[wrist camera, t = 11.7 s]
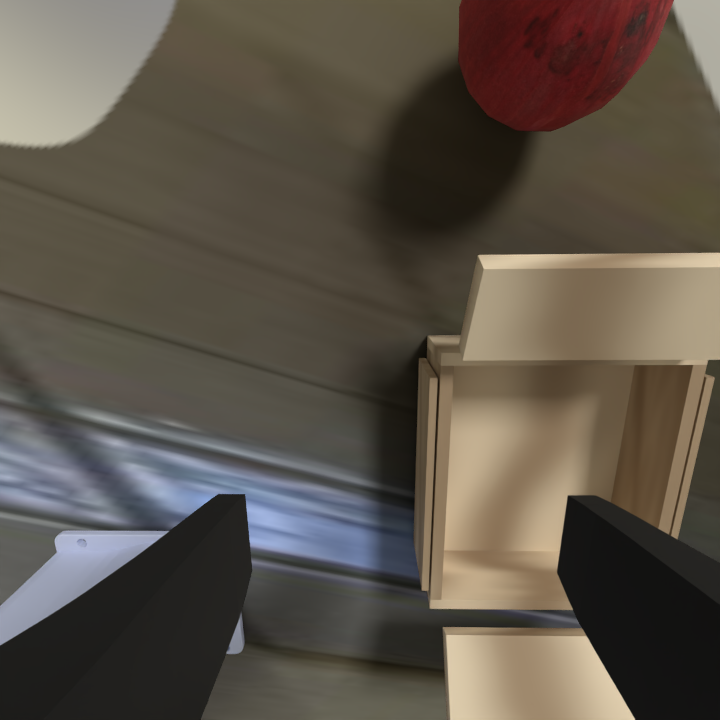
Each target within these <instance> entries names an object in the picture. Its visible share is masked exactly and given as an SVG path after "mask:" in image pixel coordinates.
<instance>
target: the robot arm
mask: <svg viewBox="0 0 720 720" xmlns="http://www.w3.org/2000/svg"><path fill="white" fill-rule="evenodd" d="M83 539H84V540H85V541H86V542H85V541H84V540H83ZM55 545H56V549H57V553H56V554H55V555H54V556H53V557H52V558H50V559H49V560H48V561H47V562H46V563H45V564H44V565H43V566H42V567H41V568H40V569H39V570H38V571H37V572H36V573H35V574H34V575H33V576H31V577H30V578H29V579H28V580H27V581H26V582H25V583H24V584H23V585H22V586H21V587H20V588H19V589H18V590H17V591H16V592H15V593H13V594H12V595H11V596H10V597H9V598H8V599H7V600H6V601H5V602H4V603H3V604H2V605H1V606H0V720H200V719H201V717H202V714H203V712H204V709H205V707H206V704H207V701H208V699H209V696H210V694H211V691H212V689H213V686H214V683H215V681H216V678H217V676H218V673H219V671H220V668H221V666H222V663H223V660H224V658H225V655H226V654H238V653H240V652H241V651H242V650H243V647H244V643H245V641H244V631H243V622H242V612H241V611H242V607H243V604H244V600H245V597H246V593H247V589H248V585H249V581H250V577H251V573H252V563H251V553H250V542H249V531H248V521H247V510H246V499H245V494H218V495H217V496H215V497H214V498H212V499H211V500H209V501H208V502H207V503H205V504H204V505H203V506H201V507H200V508H199V509H197V510H196V511H195V512H194V513H192V514H191V515H190V516H188V517H187V518H186V519H185V520H183V521H182V522H181V523H179V524H178V525H177V526H175V527H174V528H173V529H172V530H170V531H63V532H61V533H60V534H59V535H58V536H56V538H55ZM557 574H558V576H559V579H560V581H561V584H562V586H563V588H564V591H565V593H566V595H567V598H568V600H569V602H570V604H571V607H572V609H573V611H574V613H575V615H576V617H577V620H578V622H579V624H580V625H581V627H582V629H583V631H584V632H585V634H586V636H587V638H588V639H589V641H590V643H591V645H592V646H593V648H594V650H595V652H596V653H597V655H598V657H599V659H600V660H601V662H602V664H603V665H604V667H605V669H606V671H607V672H608V674H609V676H610V677H611V679H612V681H613V682H614V684H615V686H616V688H617V689H618V691H619V693H620V694H621V696H622V698H623V700H624V701H625V703H626V705H627V706H628V708H629V710H630V711H631V713H632V715H633V717H634V718H635V720H720V563H719V562H717V561H715V560H713V559H712V558H710V557H708V556H706V555H704V554H703V553H701V552H699V551H697V550H695V549H694V548H692V547H690V546H688V545H686V544H685V543H683V542H681V541H679V540H678V539H676V538H674V537H672V536H670V535H669V534H667V533H665V532H663V531H662V530H660V529H658V528H656V527H655V526H653V525H651V524H649V523H647V522H646V521H644V520H642V519H640V518H639V517H637V516H635V515H633V514H631V513H629V512H628V511H626V510H624V509H622V508H620V507H618V506H617V505H615V504H613V503H611V502H609V501H607V500H605V499H603V498H600V497H598V496H596V495H568V497H567V504H566V511H565V518H564V525H563V532H562V539H561V546H560V553H559V560H558V567H557Z"/></svg>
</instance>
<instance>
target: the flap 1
mask: <svg viewBox="0 0 720 720" xmlns="http://www.w3.org/2000/svg"><path fill="white" fill-rule="evenodd" d="M459 349H460V352H461V356H462V360H463V361H479V360H720V253H651V254H539V255H478V257H477V262H476V266H475V271H474V276H473V280H472V285H471V290H470V294H469V299H468V304H467V308H466V313H465V318H464V322H463V327H462V332H461V337H460V341H459Z"/></svg>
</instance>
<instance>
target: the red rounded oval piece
mask: <svg viewBox="0 0 720 720" xmlns="http://www.w3.org/2000/svg"><path fill="white" fill-rule="evenodd" d="M673 1H674V0H462V1H461V4H460V7H459V51H458V61H459V64H460V68H461V71H462V74H463V77H464V80H465V83H466V86H467V89H468V92H469V93H470V94H471V96H472V97H473V98H474V99H475V101H476V102H477V103H478V104H479V105H480V107H481V108H482V109H483V110H484V112H485V113H486V114H487V115H488V116H489V117H491V118H493V119H495V120H497V121H499V122H501V123H503V124H505V125H507V126H509V127H511V128H513V129H515V130H516V131H553V130H556V129H558V128H561V127H564V126H566V125H568V124H570V123H572V122H574V121H576V120H578V119H580V118H582V117H584V116H586V115H589V114H591V113H593V112H595V111H597V110H599V109H601V108H602V107H603V106H605V105H606V104H607V103H608V102H609V101H610V100H611V99H612V98H614V97H615V96H616V95H617V94H618V93H619V92H620V90H621V89H622V88H623V87H624V86H625V85H626V83H627V82H628V81H629V80H630V79H631V78H632V76H633V75H634V74H635V73H636V72H637V71H638V69H639V68H640V67H641V66H642V65H643V64H644V62H645V61H646V60H647V58H648V57H649V55H650V53H651V52H652V50H653V48H654V47H655V45H656V43H657V42H658V39H659V36H660V34H661V31H662V29H663V26H664V24H665V21H666V19H667V16H668V14H669V11H670V9H671V6H672V4H673Z"/></svg>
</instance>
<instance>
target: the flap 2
mask: <svg viewBox="0 0 720 720" xmlns="http://www.w3.org/2000/svg"><path fill="white" fill-rule="evenodd" d="M443 644H444V667H445V689H446V711H447V720H635V718H634V717H633V715H632V713H631V711H630V710H629V708H628V706H627V705H626V703H625V701H624V700H623V698H622V696H621V694H620V693H619V691H618V689H617V688H616V686H615V684H614V682H613V681H612V679H611V677H610V676H609V674H608V672H607V671H606V669H605V667H604V665H603V664H602V662H601V660H600V659H599V657H598V655H597V653H596V652H595V650H594V648H593V646H592V645H591V643H590V641H589V639H588V638H587V636H586V634H585V632H584V631H583V629H582V628H487V627H443Z"/></svg>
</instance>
